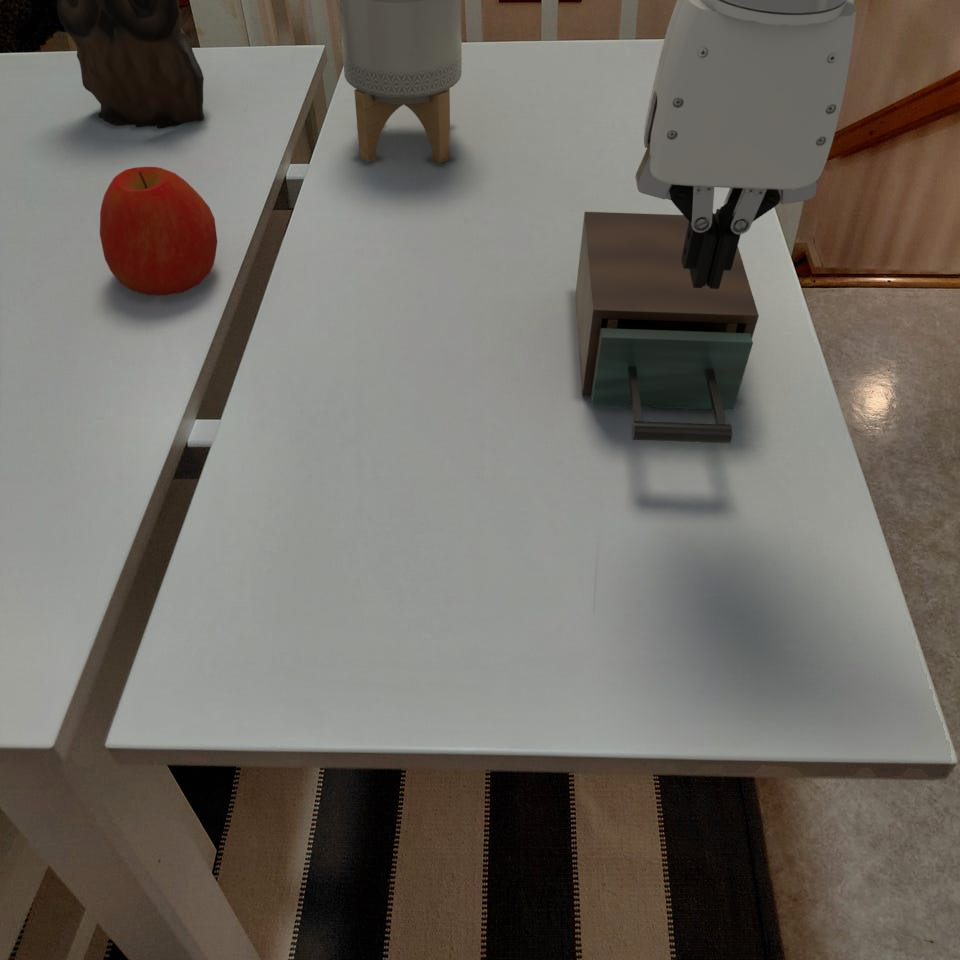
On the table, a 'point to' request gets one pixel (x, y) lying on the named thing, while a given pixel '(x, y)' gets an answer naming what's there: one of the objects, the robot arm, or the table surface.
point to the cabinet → (647, 281)
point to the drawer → (671, 374)
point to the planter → (402, 65)
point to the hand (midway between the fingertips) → (702, 276)
